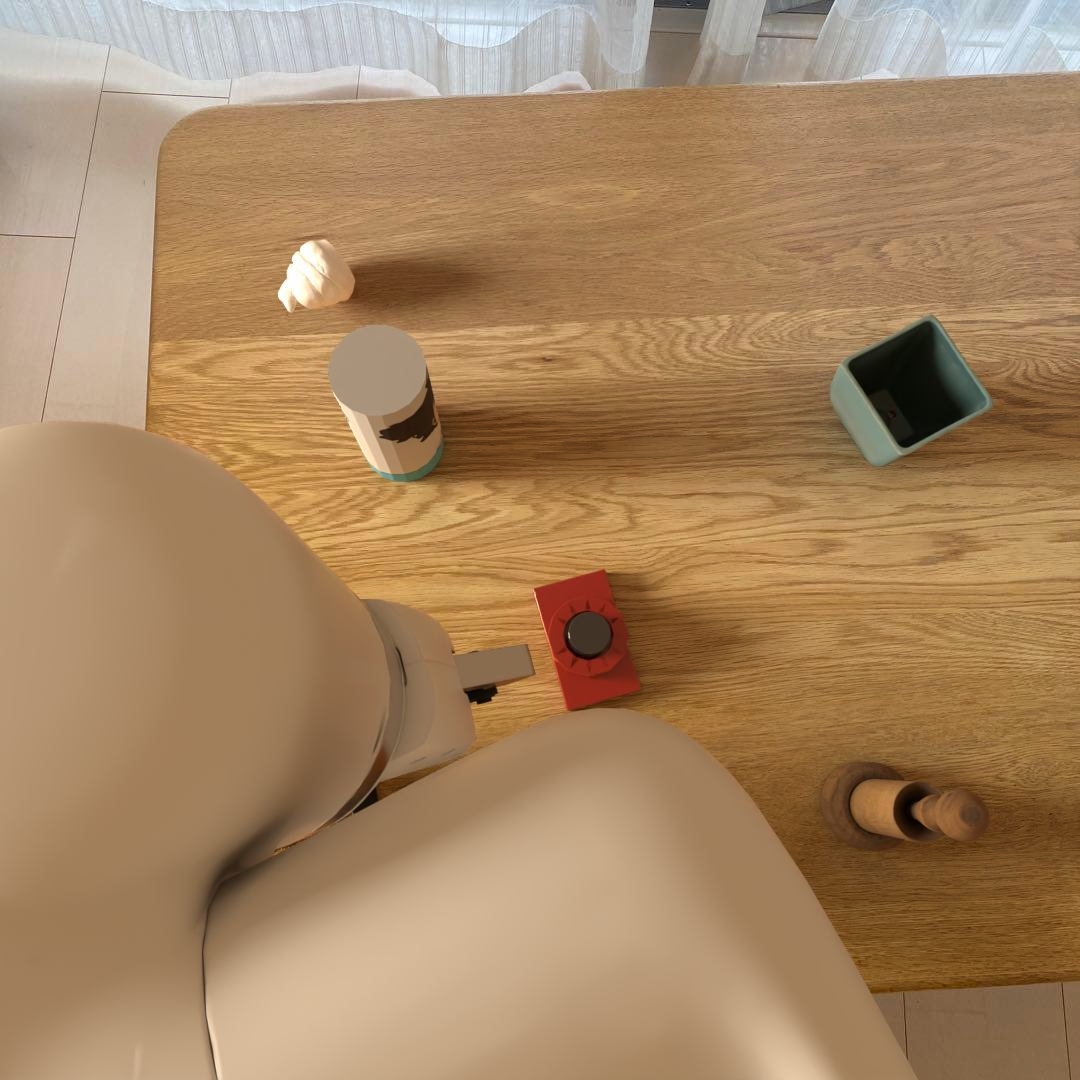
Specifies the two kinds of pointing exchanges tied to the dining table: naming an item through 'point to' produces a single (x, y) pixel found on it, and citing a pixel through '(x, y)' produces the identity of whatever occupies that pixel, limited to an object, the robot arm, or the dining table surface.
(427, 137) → the dining table surface
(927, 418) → the flower pot
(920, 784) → the mortar and pestle
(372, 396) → the beige cylindrical canister
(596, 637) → the button
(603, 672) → the button block
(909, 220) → the dining table surface
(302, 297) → the garlic bulb
